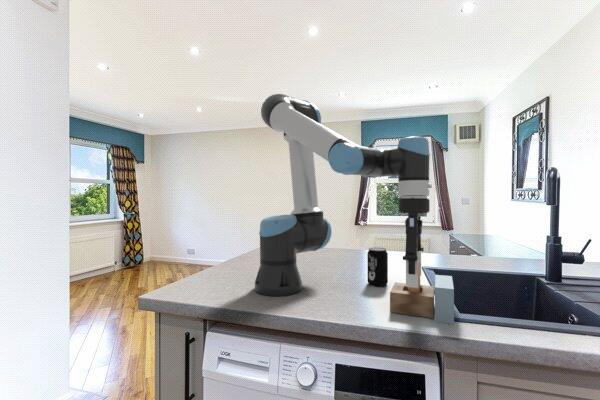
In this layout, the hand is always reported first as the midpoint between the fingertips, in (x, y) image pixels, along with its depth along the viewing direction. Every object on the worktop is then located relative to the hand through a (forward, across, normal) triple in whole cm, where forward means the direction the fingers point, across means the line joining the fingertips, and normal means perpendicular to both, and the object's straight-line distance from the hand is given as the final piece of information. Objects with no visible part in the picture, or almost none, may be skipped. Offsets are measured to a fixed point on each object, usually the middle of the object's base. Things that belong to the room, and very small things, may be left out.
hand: (414, 280), depth 80 cm
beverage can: (+8, +20, +13) cm, 25 cm away
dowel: (+7, 0, 0) cm, 7 cm away
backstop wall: (+7, 0, -7) cm, 10 cm away
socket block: (+7, 0, 0) cm, 7 cm away
